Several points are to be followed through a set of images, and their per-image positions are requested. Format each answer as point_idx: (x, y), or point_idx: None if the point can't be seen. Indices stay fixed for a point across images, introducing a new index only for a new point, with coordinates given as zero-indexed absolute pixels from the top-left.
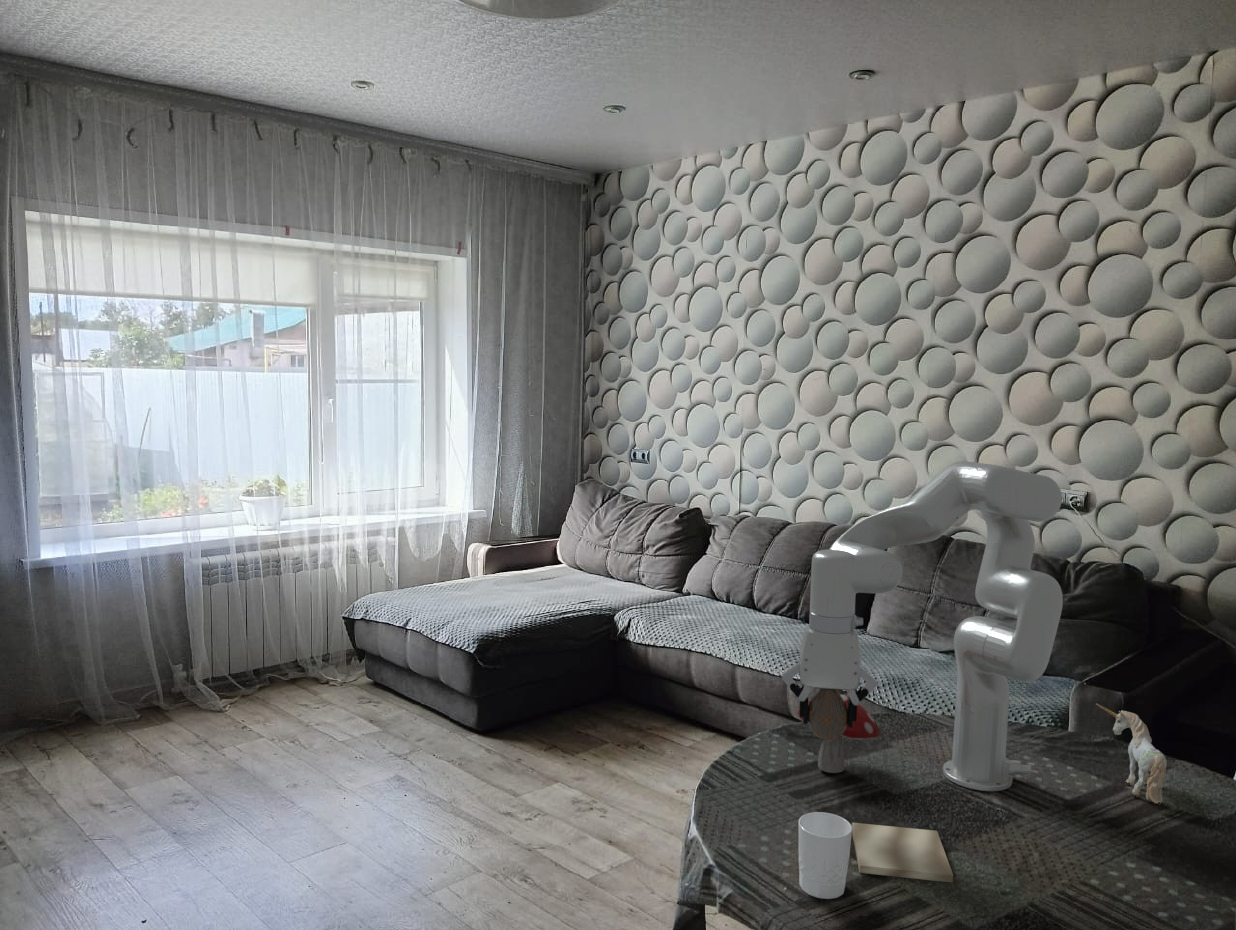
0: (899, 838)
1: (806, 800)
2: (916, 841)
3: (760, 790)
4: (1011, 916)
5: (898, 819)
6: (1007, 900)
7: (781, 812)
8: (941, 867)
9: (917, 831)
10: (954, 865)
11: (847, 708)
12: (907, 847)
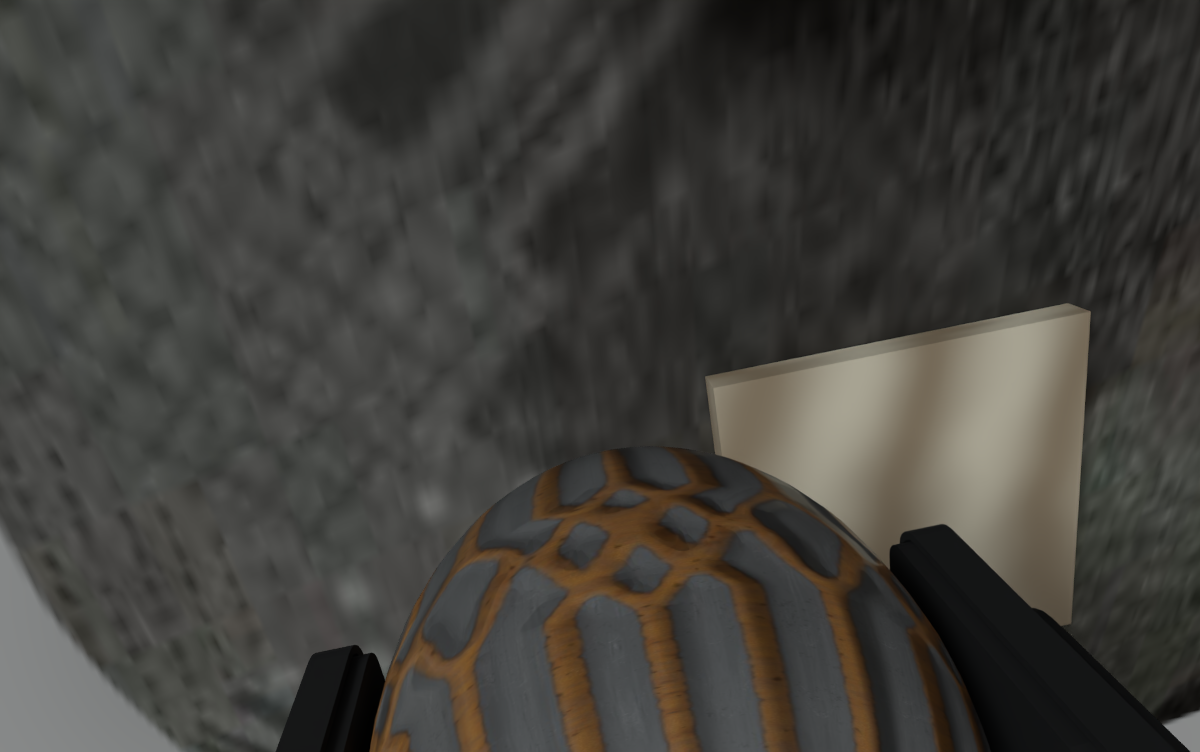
0: (915, 447)
1: (450, 151)
2: (982, 442)
3: (162, 123)
4: (1178, 704)
5: (923, 185)
6: (1197, 631)
7: (358, 343)
8: (1041, 592)
9: (1002, 353)
10: (1085, 494)
11: (989, 669)
12: (939, 504)
